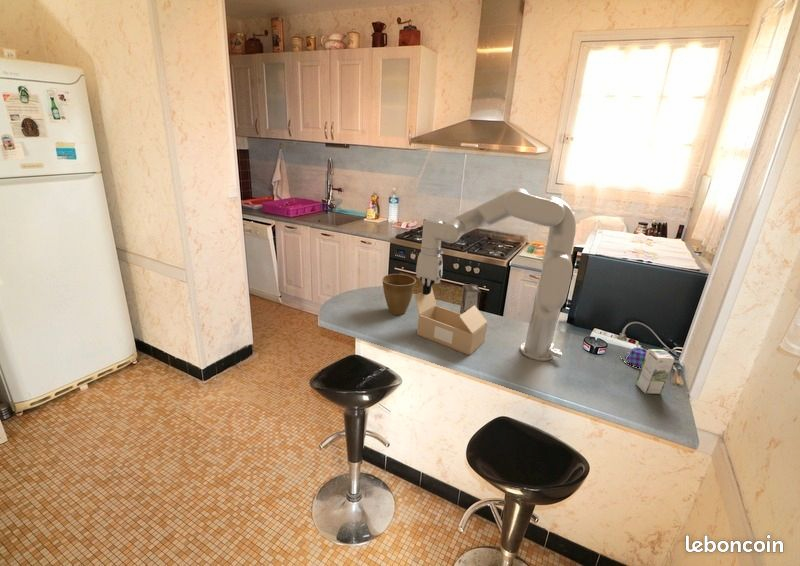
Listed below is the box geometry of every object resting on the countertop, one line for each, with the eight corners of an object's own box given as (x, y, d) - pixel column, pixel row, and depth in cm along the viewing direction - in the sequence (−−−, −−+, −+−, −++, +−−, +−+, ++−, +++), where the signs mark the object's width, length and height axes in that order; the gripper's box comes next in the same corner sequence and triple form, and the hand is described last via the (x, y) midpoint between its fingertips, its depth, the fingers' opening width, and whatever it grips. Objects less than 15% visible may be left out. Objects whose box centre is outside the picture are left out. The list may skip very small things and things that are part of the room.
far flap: (431, 286, 165) (431, 286, 165) (414, 295, 155) (414, 295, 155) (436, 304, 166) (435, 304, 166) (419, 314, 156) (418, 314, 156)
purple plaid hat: (645, 355, 155) (649, 344, 154) (661, 373, 144) (666, 361, 142) (614, 353, 156) (618, 341, 154) (628, 370, 145) (632, 357, 143)
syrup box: (650, 384, 137) (663, 348, 131) (661, 395, 131) (675, 358, 126) (634, 383, 136) (647, 348, 131) (645, 394, 131) (658, 357, 125)
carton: (484, 342, 157) (487, 322, 154) (469, 356, 147) (472, 335, 143) (433, 323, 170) (435, 305, 166) (416, 334, 159) (418, 315, 156)
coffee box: (476, 326, 170) (481, 292, 164) (461, 325, 170) (466, 291, 164) (473, 316, 178) (477, 284, 173) (459, 315, 178) (463, 283, 173)
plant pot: (414, 306, 185) (417, 275, 179) (411, 320, 171) (413, 287, 165) (384, 303, 187) (385, 271, 181) (377, 316, 173) (379, 283, 167)
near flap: (458, 316, 145) (459, 315, 145) (474, 305, 155) (474, 305, 155) (471, 333, 144) (472, 333, 143) (486, 321, 154) (487, 321, 153)
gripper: (452, 252, 151) (447, 296, 158) (419, 244, 159) (416, 286, 166) (442, 257, 146) (437, 301, 152) (409, 248, 153) (406, 291, 160)
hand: (426, 293), depth 159 cm, fingers closed
